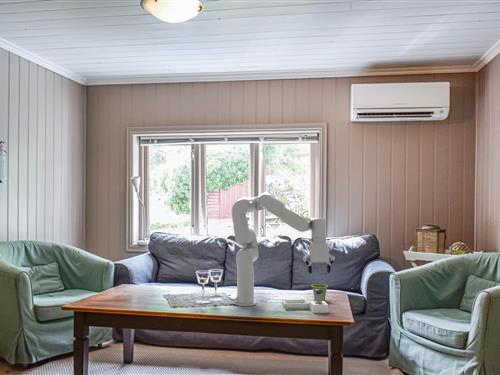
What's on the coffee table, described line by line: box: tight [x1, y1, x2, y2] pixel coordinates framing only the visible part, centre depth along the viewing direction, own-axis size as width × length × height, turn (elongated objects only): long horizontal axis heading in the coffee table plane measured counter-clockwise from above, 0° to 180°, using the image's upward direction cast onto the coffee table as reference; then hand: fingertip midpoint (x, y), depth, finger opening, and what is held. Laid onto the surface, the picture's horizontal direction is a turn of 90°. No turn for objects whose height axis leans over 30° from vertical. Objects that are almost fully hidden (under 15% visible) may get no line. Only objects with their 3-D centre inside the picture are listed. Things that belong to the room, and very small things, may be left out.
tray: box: [281, 298, 310, 311], centre depth 223 cm, size 13×10×3 cm
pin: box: [315, 289, 323, 304], centre depth 216 cm, size 4×4×11 cm
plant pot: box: [311, 283, 328, 302], centre depth 238 cm, size 9×9×9 cm
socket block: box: [309, 300, 329, 314], centre depth 215 cm, size 8×8×4 cm
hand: (319, 273), depth 216 cm, fingers open, 9 cm apart
